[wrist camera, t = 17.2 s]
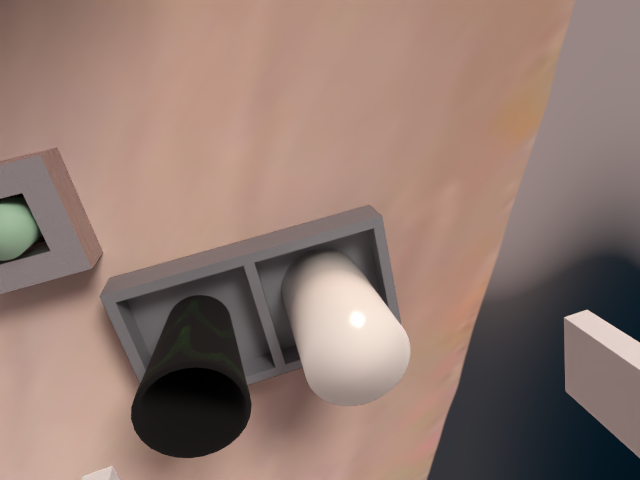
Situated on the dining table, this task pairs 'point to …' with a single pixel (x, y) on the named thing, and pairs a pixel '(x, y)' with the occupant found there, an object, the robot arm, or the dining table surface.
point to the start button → (16, 228)
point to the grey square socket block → (47, 222)
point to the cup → (193, 383)
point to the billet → (343, 329)
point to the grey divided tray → (246, 289)
